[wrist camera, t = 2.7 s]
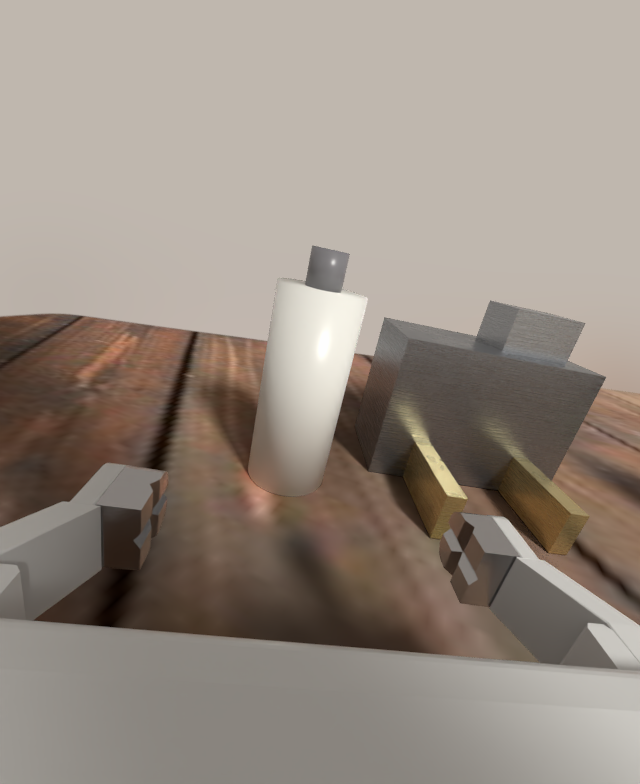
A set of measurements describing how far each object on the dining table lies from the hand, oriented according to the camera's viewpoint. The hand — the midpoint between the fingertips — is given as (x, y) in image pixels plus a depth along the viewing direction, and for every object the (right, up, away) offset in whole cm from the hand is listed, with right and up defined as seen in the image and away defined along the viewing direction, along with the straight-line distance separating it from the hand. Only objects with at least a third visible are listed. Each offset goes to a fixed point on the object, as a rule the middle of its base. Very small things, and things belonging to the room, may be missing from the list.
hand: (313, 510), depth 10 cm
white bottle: (-2, -2, +14) cm, 14 cm away
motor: (+11, -4, +17) cm, 21 cm away
